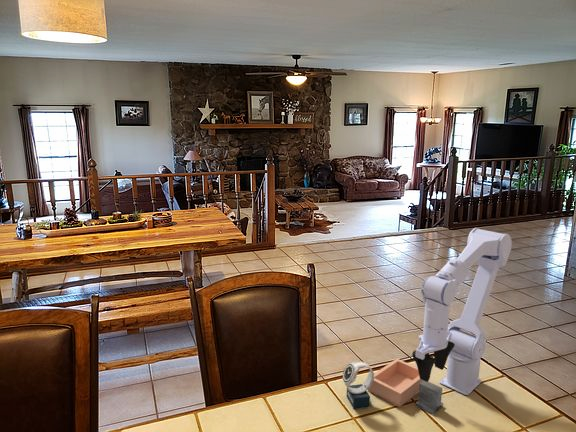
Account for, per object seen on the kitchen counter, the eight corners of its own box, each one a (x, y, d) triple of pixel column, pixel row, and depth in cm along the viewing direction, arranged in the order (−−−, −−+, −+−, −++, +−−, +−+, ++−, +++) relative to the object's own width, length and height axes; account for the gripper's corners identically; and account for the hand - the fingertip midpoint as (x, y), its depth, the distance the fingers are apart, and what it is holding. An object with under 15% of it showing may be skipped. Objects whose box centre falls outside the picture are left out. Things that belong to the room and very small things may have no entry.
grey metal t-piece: (425, 398, 119) (426, 377, 118) (442, 406, 116) (444, 385, 114) (415, 406, 116) (416, 385, 115) (433, 415, 112) (435, 394, 111)
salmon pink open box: (396, 370, 132) (396, 358, 131) (427, 385, 125) (428, 372, 124) (367, 390, 122) (368, 377, 121) (399, 407, 115) (400, 393, 114)
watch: (339, 397, 119) (340, 359, 117) (368, 393, 121) (369, 356, 119) (346, 410, 114) (347, 371, 112) (376, 406, 116) (377, 368, 113)
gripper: (435, 310, 118) (431, 357, 121) (405, 328, 109) (402, 378, 112) (461, 319, 113) (456, 367, 116) (432, 338, 104) (428, 390, 107)
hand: (431, 373), depth 114 cm, fingers open, 7 cm apart
